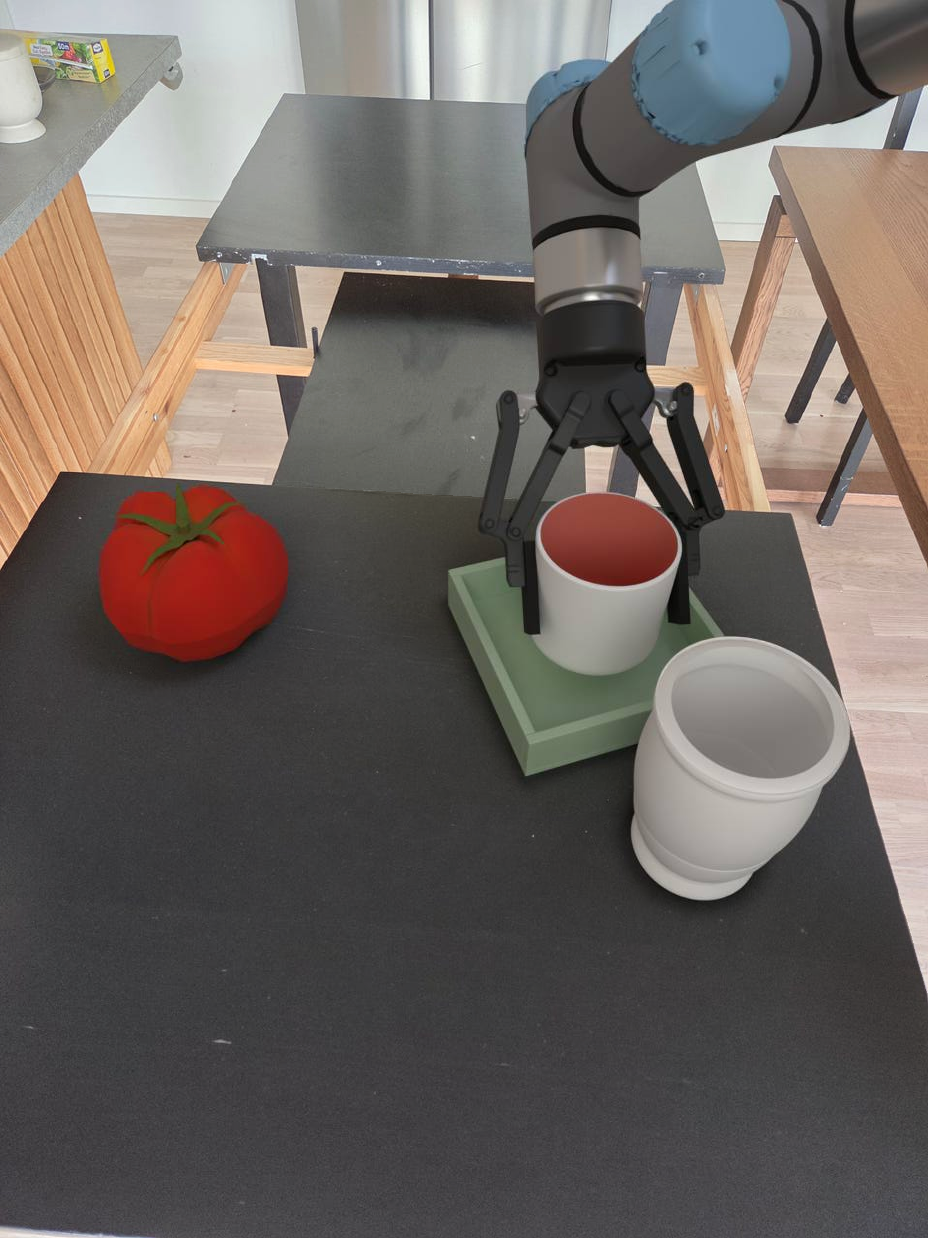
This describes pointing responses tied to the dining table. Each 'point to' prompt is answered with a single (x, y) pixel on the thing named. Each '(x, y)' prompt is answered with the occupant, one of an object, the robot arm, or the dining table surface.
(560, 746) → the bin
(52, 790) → the dining table surface
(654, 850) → the jar
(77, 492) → the dining table surface
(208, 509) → the tomato
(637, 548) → the cup
